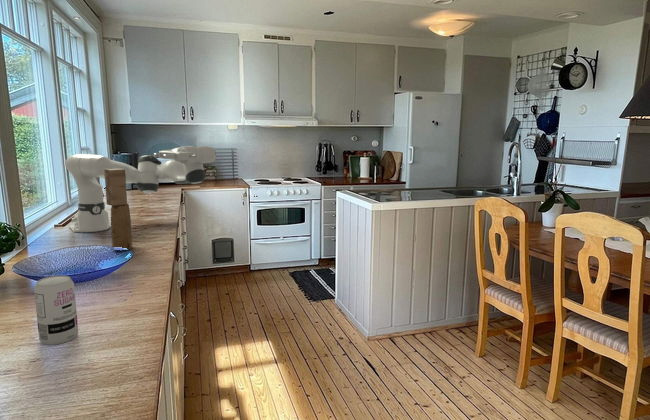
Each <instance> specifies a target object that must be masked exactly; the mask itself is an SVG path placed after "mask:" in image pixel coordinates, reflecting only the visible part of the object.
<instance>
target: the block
mask: <svg viewBox="0 0 650 420" xmlns="http://www.w3.org/2000/svg"><path fill="white" fill-rule="evenodd" d="M131 219H132V218H131V212H130V205H129V203H128V202H127V205H118V206H111V208H110V224H111V227H110V232H111V245H112V248H113V247H122V248H127V249H130V250H132V248H133V237H132V234H133V233H132V220H131Z"/></svg>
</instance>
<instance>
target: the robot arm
mask: <svg viewBox="0 0 650 420" xmlns="http://www.w3.org/2000/svg"><path fill="white" fill-rule="evenodd" d="M158 158H159V159H163V160H167V161H166V162H164V163H163V162H162V161H160V160H159V159H158ZM216 159H217V153H216V150H215V148H214V147H212V146H208V145H206V146H205V145H197V146H196V145H195V146H194V145H182V146H179V147H174V148H171V149H163V150H159V151H158V152H154V153H153V155H150V154H145V155H141V156H140V157H139V158H138V161H137V163H138V165H137V168H136V167H134V166H132V165H130V164H127V163H125V162H121V161H117V160H113V159H111V158H109V157H107V156H103V155H100V154H91V153H90V154H88V153H75V154H72V155H69V156H68V157H67V158H66V160H65V168H66V169H67V171H68V172H69V173H70V174H71V175H72V178H73V179H74V181H75V184H76V188H77V192H78V196H77V197H78V204H77V210H78V211H77V212H76V213H75V214H74V216H73V217H72V218H71V222H72V223H74V224H70V225H69V228H70V229H71V231H72V232H73V233H93V232H103V231H106V230H108V229H111V223H110V219H109V218H110V217H109V213H108V211H107V210H106V203H105V201H104V190H103V186H102V185H101V184H100V183H99V181H98V180H97V178H100V179H103V180H105V173H104V169H125V176H126V184H134V187H135V188H137V190H139V191H140V192H141V193H145V194H153V193H156V192H158V190H159V188H160V187H159V182H160V181H162V182H165V183H169V182H174V183H175V184H177V185H183V184H184V185H185V184H192V185H196V184H201V183H203V182H204V181H205V179H206V177H207V175H206V172H205V168H204V164H209V163H214V162H215V161H216ZM159 180H160V181H159Z"/></svg>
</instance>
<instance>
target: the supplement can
mask: <svg viewBox="0 0 650 420" xmlns="http://www.w3.org/2000/svg"><path fill="white" fill-rule="evenodd" d="M33 291H34V300H35V301H34V304H35V311H36V321H37V329H38V330H37V331H38V339H39V340H38V341H39V342H41V343H42V344H44V345H45V346H46V345H47V346H55V345H61V344H64V343H68V342H70V341H72V340H73V339H75V337H76V336H78V334H79V326H78V325H79V324H78V313H77V303H76V302H77V301H76V289H75V283H74V281H73V279H71V276H68V275H52V276H51V275H50V276H47V277H43V278H41V279H38V280H37V281H36V284H35V286H34V288H33Z"/></svg>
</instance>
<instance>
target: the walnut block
mask: <svg viewBox="0 0 650 420" xmlns="http://www.w3.org/2000/svg"><path fill="white" fill-rule="evenodd" d="M104 173H105V179H104V184H105V197H106V198H105V199H106V205H107V206H111V207H112V206H118V205H127V203H128V196H127V183H126V176H125V169H104Z"/></svg>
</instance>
